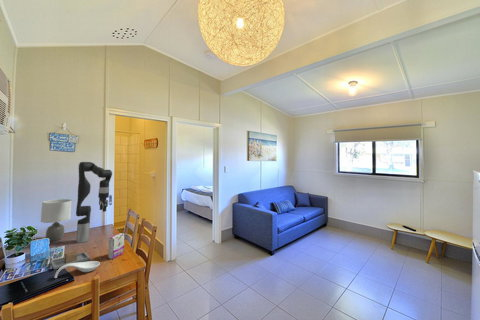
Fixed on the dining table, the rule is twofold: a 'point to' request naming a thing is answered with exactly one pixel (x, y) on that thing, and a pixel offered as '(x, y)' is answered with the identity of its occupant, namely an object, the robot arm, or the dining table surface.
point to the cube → (70, 256)
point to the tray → (60, 262)
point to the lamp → (55, 216)
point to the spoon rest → (80, 266)
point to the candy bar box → (116, 245)
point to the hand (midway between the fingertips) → (102, 210)
